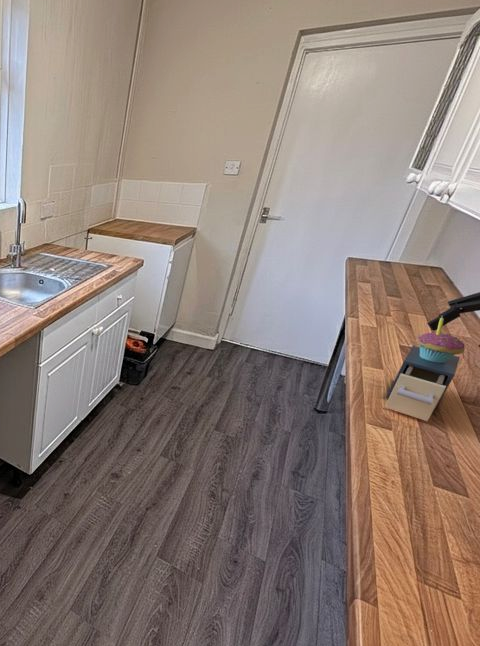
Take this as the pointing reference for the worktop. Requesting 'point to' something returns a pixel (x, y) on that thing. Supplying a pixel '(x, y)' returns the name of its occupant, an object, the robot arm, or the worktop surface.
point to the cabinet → (428, 368)
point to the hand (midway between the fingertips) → (454, 337)
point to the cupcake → (439, 345)
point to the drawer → (417, 392)
